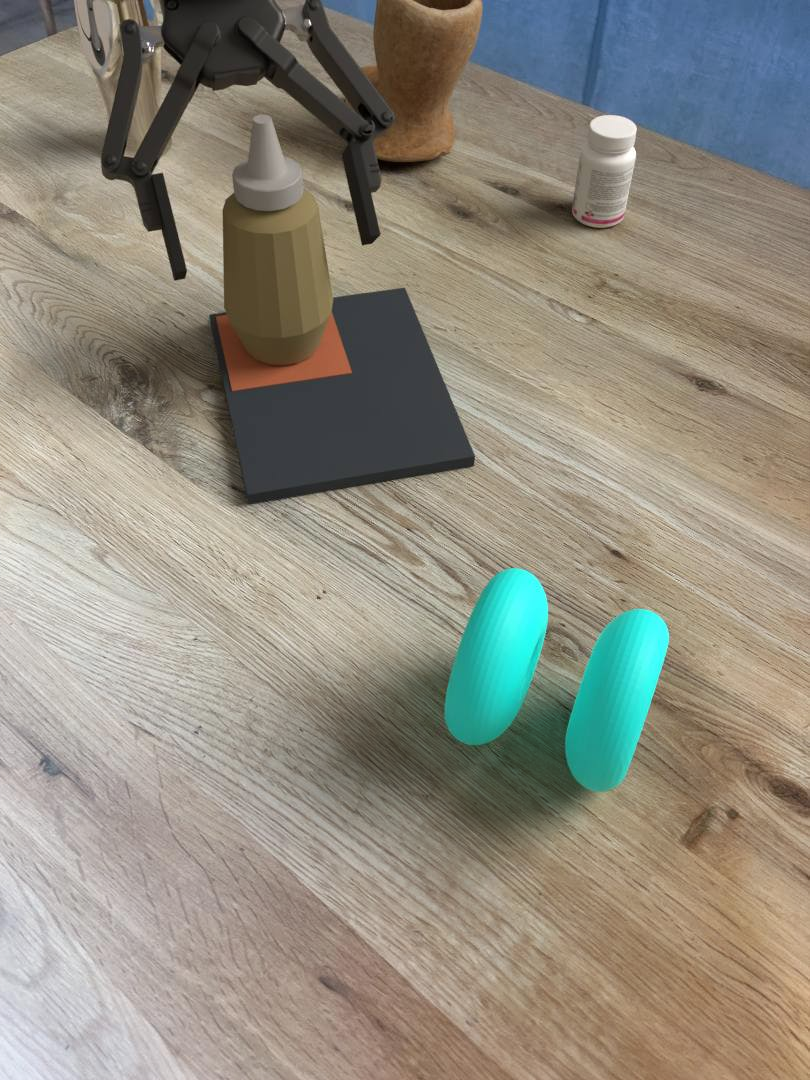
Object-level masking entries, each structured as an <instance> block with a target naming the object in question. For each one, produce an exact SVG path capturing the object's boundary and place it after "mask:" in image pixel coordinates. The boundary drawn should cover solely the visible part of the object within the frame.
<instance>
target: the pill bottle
mask: <svg viewBox="0 0 810 1080" xmlns="http://www.w3.org/2000/svg"><path fill="white" fill-rule="evenodd" d="M636 137H637V125H636V123H634V121H632V120H630V119H629V118H627V117H624V116H621V115H614V114H606V115H605V114H604V115H600V116H596V117H594V118H593V119H592V120H591V121H590V122H589V125H588V130H587V138H586V140H587V141H585V142H584V143H583V145H582V146H581V149H580V153H579V158H578V165H577V166H578V167H577V173H576V179H575V185H574V192H573V198H572V205H571V213H572V216H573V217H574V218H575V220H576V221H578V222H579V223H581V224H583V225H585V226H588V227H592V228H597V229H604V228H610V227H615V226H617V225H618V224H620V223H621V222H622V221H623V220H624V217H625V215H626V210H627V205H628V204H627V203H628V200H629V194H630V190H631V183H632V178H633V174H634V170H635V164H636V159H637V152H636V149H635V143H636Z"/></svg>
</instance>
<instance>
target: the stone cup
mask: <svg viewBox="0 0 810 1080" xmlns="http://www.w3.org/2000/svg"><path fill="white" fill-rule="evenodd" d="M482 17H483V1H482V0H376V4H375V11H374V21H373V32H372V36H373V37H372V38H373V39H372V40H373V50H374V56H375V57H374V58H375V62H376V65H375V64H374V65H367V66H363V67H360V68H361V70H362V71H363V72H364V74H365V75H366V76H367V78H368V79H369V80H370V82H371V83H372V84H373V86H374V87H375V88H376V90H377V91H378V92H379V94H380V95H381V97H382V98H383V99H384V101H385V102H386V103H387V105H388V106H389V107H390V109H391V110H392V111H393V113H394V115H395V120H394V122H393V124H392V125H391V126H390V128H389V129H388V130H387V132H386V133H385V134H384V135H383V136H381V137H378V138H376V139H375V140H374V148H375V152H376V157H377V160H381V161H386V162H392V163H414V162H426V161H431V160H435V159H437V158H439V157H443V156H447V155H448V154H450V153H451V152H452V151H453V148H454V145H455V136H456V135H455V124H454V119H453V116H452V114H451V111H450V110H449V104H450V101H451V98H452V95H453V92H454V90H455V88H456V85H457V83H458V81H459V80H460V77H461V76H462V74H463V73H464V70H465V68H466V67H467V64H468V62H469V60H470V58H471V56H472V54H473V52H474V49H475V47H476V44H477V42H478V37H479V34H480V28H481V24H482ZM344 100H345V101H344V102H345V103H346V104H347V105H348V106H349V107H350V108H352V109H353V110H354V108H353V107H352V106H351V104H350V103H349V102H348V100H347V99H346V98H345V97H344ZM354 111H355V110H354ZM355 112H356V111H355ZM356 113H357V112H356Z"/></svg>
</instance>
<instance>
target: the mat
mask: <svg viewBox="0 0 810 1080" xmlns="http://www.w3.org/2000/svg"><path fill="white" fill-rule="evenodd" d="M208 318H209V324H210V330H211V334H212V339H213V343H214V347H215V348H214V349H215V353H216V357H217V363H218V367H219V372H220V377H221V382H222V386H223V392H224V395H225V400H226V405H227V410H228V414H229V420H230V424H231V429H232V434H233V438H234V443H235V448H236V453H237V458H238V463H239V467H240V472H241V476H242V481H243V485H244V490H245V495H246V500H247V504H248V505H252V504H258V503H263V502H269V501H275V500H276V501H277V500H281V499H287V498H293V497H298V496H305V495H311V494H317V493H322V492H323V493H324V492H328V491H333V490H340V489H346V488H352V487H357V486H358V487H359V486H364V485H369V484H374V483H375V484H376V483H382V482H387V481H391V480H392V481H393V480H398V479H399V480H400V479H404V478H410V477H417V476H422V475H423V476H424V475H428V474H435V473H439V472H446V471H451V470H458V469H463V468H470V467H474V466H475V462H476V461H475V460H476V454H475V452H474V449H473V447H472V445H471V442H470V440H469V438H468V435H467V433H466V431H465V429H464V426H463V423H462V421H461V419H460V416H459V414H458V411H457V409H456V407H455V405H454V401H453V399H452V397H451V395H450V392H449V389H448V388H447V385H446V383H445V381H444V378H443V376H442V373H441V371H440V368H439V366H438V363H437V361H436V358H435V357H434V354H433V352H432V349H431V346H430V344H429V342H428V339H427V337H426V334H425V332H424V330H423V327H422V325H421V322H420V321H419V318H418V316H417V312H416V310H415V308H414V305H413V304H412V301H411V298H410V296H409V294H408V291H407V289H406V287H398V288H391V289H383V290H377V291H369V292H363V293H362V292H361V293H356V294H355V293H354V294H348V295H341V296H333V305H332V311H331V315H330V317H329V320H328V323H327V326H326V329H325V332H324V334H323V337H322V340H321V343H320V346H319V348H318V349H317V350H316V351H315V352H314V354H313V355H312V356H310V357H308V358H306V359H305V360H303V361H301V362H298V363H293V364H288V365H271V364H267V363H264V362H261V361H258V360H256V359H255V358H253V357H252V356H251V355H250V354H249V353H247V351H246V349H245V348H244V346H243V344H242V342H241V341H240V339H239V337H238V335H237V334H236V332H235V330H234V328H233V327H232V325H231V323H230V321H229V319H228V316H227V314H226V311H224V312H217V313H210V314H208Z"/></svg>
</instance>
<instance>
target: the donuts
mask: <svg viewBox="0 0 810 1080" xmlns="http://www.w3.org/2000/svg"><path fill="white" fill-rule="evenodd" d="M548 603H549V602H548V598H547V594H546V591H545V589H544V587H543V585H542V583H541V582H540V580H539V579H538V578H537V577H536V576H535V574H533V573H532V572H530V571H528V570H526V569H523V568H520V567H519V568H518V567H511V568H506V569H503V570H501V571H499V572H497V573H496V574H495V575H493V576H492V577H491V578H490V580H489V581H488V582H487V584H486V585H485V586H484V587H483V590H482V591H481V593H480V595H479V596H478V598H477V600H476V602H475V605H474V606H473V609H472V611H471V613H470V615H469V618H468V620H467V623H466V625H465V628H464V631H463V633H462V636H461V639H460V642H459V645H458V648H457V651H456V654H455V656H454V661H453V663H452V666H451V667H452V668H451V671H450V675H449V678H448V683H447V684H448V685H447V688H446V693H445V700H444V719H445V723H446V727H447V729H448V731H449V733H450V734H451V735H452V736H453V738H454V739H456V740H457V741H459V742H460V743H463V744H465V745H470V746H481V745H485V744H489V743H490V742H492V741H494V740H496V739H497V738H499V737H500V736H502V735H503V734H504V733H505V732H506V730H508V729H509V727H510V726H511V725H512V724H513V722H514V721H515V719H516V718H517V715H518V714H519V712H520V710H521V708H522V705H523V704H524V701H525V699H526V697H527V694H528V691H529V689H530V686H531V684H532V681H533V678H534V675H535V672H536V669H537V666H538V663H539V660H540V657H541V653H542V649H543V645H544V642H545V638H546V634H547V629H548V623H549V604H548ZM669 644H670V632H669V628H668V625H667V624H666V622H665V621H664V619H663V618H662V617H661V616H660V615H659V614H657V613H656V612H654V611H652V610H650V609H645V608H633V609H630V610H626V611H624V612H621V613H620V614H618V615H617V616H615V617H614V618H613V619H612V620H611V621H609V622H608V623H607V624H606V626H605V627H604V628H603V629H602V631H601V632H600V634H599V636H598V637H597V640H596V641H595V644H594V646H593V649H592V651H591V653H590V656H589V659H588V662H587V664H586V667H585V669H584V672H583V676H582V678H581V682H580V685H579V688H578V691H577V693H576V697H575V701H574V703H573V707H572V710H571V713H570V716H569V720H568V724H567V728H566V732H565V741H564V750H565V758H566V762H567V766H568V768H569V771H570V773H571V775H572V776H573V778H574V779H575V781H576V782H577V783H579V785H581V786H582V787H583V788H585V789H586V790H588V791H592V792H597V793H603V792H609V791H611V790H613V789H615V788H617V787H618V786H619V785H621V783H622V782H623V781H624V779H625V778H626V775H627V773H628V771H629V768H630V766H631V762H632V759H633V757H634V756H635V755H634V754H635V752H636V749H637V745H638V743H639V740H640V737H641V734H642V731H643V728H644V726H645V722H646V719H647V717H648V713H649V710H650V707H651V704H652V700H653V697H654V695H655V691H656V688H657V685H658V682H659V677H660V675H661V672H662V668H663V665H664V662H665V659H666V655H667V651H668V648H669Z"/></svg>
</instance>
